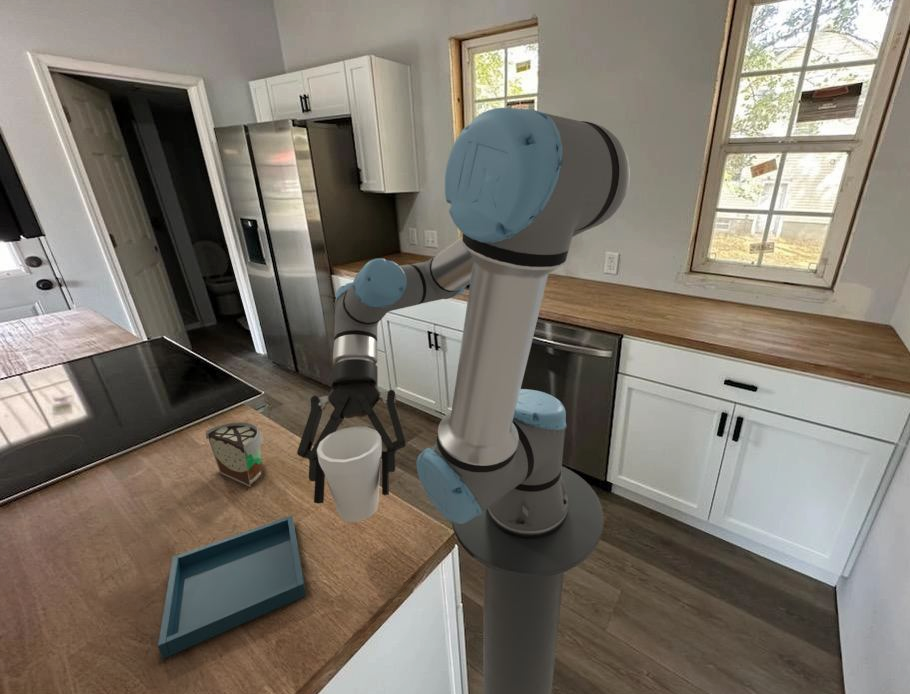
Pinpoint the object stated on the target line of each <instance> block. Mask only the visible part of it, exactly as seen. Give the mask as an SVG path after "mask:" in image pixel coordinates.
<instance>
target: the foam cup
mask: <svg viewBox="0 0 910 694" xmlns="http://www.w3.org/2000/svg"><path fill="white" fill-rule="evenodd" d="M382 452H383V441H382V440H381V436H380V435H379V433H378V432H377V431H376V429H375V428H372V427H368V426H355V425H354V426H350V427H346V428H345V427H344V428H341V429H337V430H336V432H333V433H331V434H329V435H328V436H326V437H325V438H324V439H323V440H322V441H321V442H320V443H319V446H318V448H317V455H318V460H319V464H320V466H321V468H322V470H323V471H324V474H325V480H326V483H327V485H328V488H329V491H330V494H331V498H332V500H333V502H334V506H335V509H336V510H337V513H338V515H339V517H340V519H341V520H343V521H344V522H347V523H358V522H363V521H365V520H367V519H369V518H370V517H372V516H373V515H374V514H375V513H376V512H377V511H378V509H379V499H380V480H381V479H380V476H381V461H382Z"/></svg>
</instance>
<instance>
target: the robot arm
mask: <svg viewBox="0 0 910 694" xmlns="http://www.w3.org/2000/svg"><path fill="white" fill-rule="evenodd" d="M448 156H449V157H448V160H447V162H446V168H445V174H444V196H445V201H446V203H447V204H449V205H450V207H449V210H448V212H449V215H450V218H451V219H452V222H453V224H454V225H455V226H456V228H457V229H458V230H459V231H460V232H461V233H462V236H461V237H459V238H458V239H457V240H455V241H454V242H453V243H451V244H449V245H448V246H447V247H445V248H444V249H443V250H441V251H440V252H439V253H437V254H436V255H435V256H433V257H431V258H430V259H428V260H426V261H423V262H417V263H409V264H403V265H399V264H397V263H396V262H395V261H393V260H388V259H385V258H383V257H382V258H374V259H371V260H369V261H367V262H366V264H364V266H363V267H362V268H361V269H360V270H359V272H357V274H355V276H354V279H353V282H347V283H346V284H345V285H340V286H339V288H338V289H337V291H336V293H335V294H336V295H335V301H334V305H333V306H334V329H333V330H334V331H333V335H334V336H333V349H332V350H333V351H332V363H333V366H332V371H331V372H332V373H331V389H330V391H329V393H328V395H324V396H317V395H312V396H311V397H310V412H309V415H308V417H307V421H306V424H305V426H304V429H303V433H302V437H301V439H300V441H299V445H298V447H297V451H296V455H298V456H299V457H301V458H302V459H307V460H308V462H309V465H308V480H309V481H310V482H314V493H313V494H314V495H313V496H314V497H313V504H318V505H319V504H324V503H325V502H324V501H325V498H324V497H325V483H326V481H325V480H326V477H325V474H324V471H323V470H322V468H321V466H320V464H319V460H318V455H317V448H318V446H319V443H320V442H321V441H322V440H323V439H324V438H325V437H326V436H328V435H329V434H331V433H333V432H336V431H338V429H339V427H340V425H341V424H342V423H343V422H344V420H345V419H352V418H354V417H357V418H365V417H366V416H367V417H368V418H369V420H370V422H371V424H372V426H373V428H374V430H376V431H377V432H378V433H379V435H380V436H381V441H382V444H384V446H385V448H386V451H382V453H381V494H382V495H383V496H388V495H390V473H395V471H396V452H397V451H398V450H400V449H403V448H406V446H407V443H406V439H405V435H404V432H403V428H402V424H401V422H400V421H401V420H400V418H399V414H398V409H397V408H396V405H397V404H396V403H397V402H396V401H397V394H396V391H395V390H393V389H389V390H388V391H380V390H379V387H378V386H379V385H378V380H379V379H378V374H379V373H378V365H377V363H378V325H379V322H381V320H382V319H384V317H385V316H386V314H388V313H389V312H393V311H397V310H402V309H405V308H410V307H415V306H418V305H422V304H427V303H431V302H435V301H440V300H448V299H452V298H454V297H456V296H459V295H461V294H462V293H464V292H465V289H466V288H467V286H469V289H468V295H467V302H466V310H465V316H464V323H463V329H462V337H461V342H460V343H461V344H460V350H459V358H458V364H457V371H456V378H455V385H454V391H453V397H452V398H453V399H452V405H451V410H450V411H449V412H447V413H446V414H445V415H444V416H443V417H442V419H441V420H440V422H439V424H438V427H437V433H436V434H437V435H436V440H435V441H436V442H435V444H434V445H433V446H431V447H427V448H425V449H424V451H422V452H420V454H419V455H417V458H416V472H417V475H418V479H419V481H420V484H421V486H422V488H423V490H424V493H425V494H426V496H427V498H428V499H429V501H430V502H431V503H432V505H433V506H434V508H436V510H437V511H438V512H439V513H440V514H441V515H442V516H443V517H444V518H446V519H447V520H448V521H451V523H452V522H455V523H459V524H463V523H466V522H468V521H470V520H471V519H473V518H474V517H476V516H479V515H481V514H482V512H483V511H485V510H486V509H487V513H488V516H489V518H490V519H491V521H492V522H493V524H494V525H495V526H496V527H498V528H499V529H500V530H502V531H503V532H505V533H507V534H509V535H512V536H515V537H519V538H526V539H533V538H541V537H544V536H547V535H550V534H552V533H554V532H555V531H557V530H558V529H559V528H560V527H561V526H562V525H563V523H564V522H565V520H566V517H567V513H568V498H567V494H566V490H565V487H564V484H563V480H562V477H561V468H562V466H563V456H564V445H565V437H566V436H565V435H566V429H567V422H566V421H567V420H566V419H567V418H566V417H567V411H566V408H565V406H564V404H563V403H562V402H561V400H559V399H558V398H556V397H555V396H553V395H552V394H549V393H547V392H544V391H540V390H535V389H529V388H528V389H527V388H522V384H523V380H524V378H525V377H524V376H525V372H526V369H527V368H526V367H527V364H528V361H529V356H530V352H531V348H532V344H533V340H534V335H535V331H536V326H537V323H538V319H539V314H540V312H541V311H540V310H541V306H542V302H543V298H544V295H545V290H546V286H547V282H548V278H549V275H550V274H551V273H552V272H554V271H556V270H558V269H559V268H561V267H563V266H564V265H565V264H566V262H567V258H568V255H569V251H570V248H571V243H572V239H573V237H576V236H578V235H579V234H582V233H584V232H586V231H588V230H590V229H592V228H595V227H598V226H600V225H601V224H603V223H605V222H606V221H608V220H609V219H610V218H612V216H613V215H615V213H616V212H617V211H618V210H619V208H620V207H621V206H622V204H623V202H624V200H625V199H626V196H627V193H628V190H629V187H630V180H631V179H630V178H631V169H630V163H629V157H628V154H627V152H626V149H625V147H624V145H623V144H622V143H621V141H620V140H619V138H618V136H616V135H615V134H613V133H612V132H611V130H609V129H607V128H606V127H604V126H602V125H599V124H597V123H594V122H590V121H586V120H585V121H584V120H577V119H573V118H567V117H564V116H559V115H554V114H551V113H546V112H542V111H539V110H536V109H534V108H530V109H528V108H516V107H514V108H513V107H495V108H492V109H488V110H486V111H483V112H481V113H480V114H479V115H476V117H474V118H473V119H472V120H471V123H470V124H468V125H466V126H465V127H463V129H462V130H461V132H460V133H459V135H458V136H457V138H456V139H455V141H454V143H453V146H452V147H451V150H450V152H449V155H448ZM380 399H381V400H382V402H383V404H384V405H386V406H387V409H388V414H389V417H390V421H391V424H392V428H393V432H394V435H395V438H396V440H394V441H392V439H391V438H390V436H389V434H388V433H387V431H386V429H385V427H384V426H383V424H382V423H381V421H380V419H379V417H378V416H377V414H376V412H375V411H374V409H373V408H374V407H375V406H376V405H377V403H378V401H380ZM329 403H330V405H331V406H332V407H333V408H334V409H333V410H332V412H331V414H330V418H329V420H328V421H327V423H326V425H324V426H325V427H324V428H323V429H322V432H321V433H320V434H319V436H318V438H317V440H316V442H315V444H314V441H315V438H316V435H317V432H318V429H319V425H320V422H321V419H322V415H323V410H325V409H326V408H327V405H328V404H329ZM313 444H314V445H313Z"/></svg>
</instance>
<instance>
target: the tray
mask: <svg viewBox="0 0 910 694" xmlns="http://www.w3.org/2000/svg"><path fill="white" fill-rule="evenodd" d="M297 537H298V536H297V532H296V527H295V521H294V516H293V514H291V515H289V516H285V517H282V518H279V519H276V520H274V521H271V522H268V523H266V524H262V525H260V526H257V527H254V528H251V529H248V530H246V531H245V530H244V531H243V532H240V533H237V534H233V535H231V536H228V537H226V538H223V539H220V540H217V541H214V542H211V543H208V544H205V545H201V546H199V547H197V548H194V549H191V550H188V551H185V552H182V553H179V554H177V555H174V556H172V557H171V562H170V568H169V575H168V579H167V580H168V581H167V587H166V591H165V592H166V593H165V598H164V605H163V611H162V617H161V623H160V629H159V635H158V640H157V641H158V642H157V648H158V651H159V653H160V655H161V659H162V660H164V659H167V658H168V657H172V656H174V655H176V654H178V653H180V652H182V651H185V650H187V649H189V648H192V647H193V646H195V645H198V644H201V643H203V642H205V641H207V640H209V639H211V638H214V637H216V636H218V635H221V634H224V633H226V632H227V631H229V630H232V629H234V628H236V627H238V626H242V625H243V624H245V623H248V622H250V621H253V620H254V619H256V618H259V617H261V616H264V615H266V614H268V613H270V612H273V611H275V610H277V609H280V608H282V607H285V606H286V605H289V604H290V603H293V602H295V601H298V600H300V599H302V598H304V597H306V596H307V593H306V587H305V581H304V575H303V568H302V563H301V556H300V550H299V543H298V538H297Z"/></svg>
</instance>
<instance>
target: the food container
mask: <svg viewBox="0 0 910 694" xmlns="http://www.w3.org/2000/svg"><path fill="white" fill-rule="evenodd" d="M205 438H206V440H208V442H209V445H210V448H211V451H212V455H213V456H214V459H215V462H216V465H217V468H218V470H219V471H218V472H219V474H221V475H223V476H225V477H228V478H230V479H231V480H234V481H236V482H238V483H241V484H244V485H245V486H247V487H250V488H252V487H253V486H254V485H256V484H257V483H258V482H259V481H260V480H261V479H262V476H263V475H264V469H263V462H262V461H263V460H262V453H261V452H262V451H261V445H262V443H263V440H264V437H263V435H262V433H261V430H260V429H259V428H258V427H257V426H256V425H255V424H253V423H251V422H244V421H235V422H229V423H223V424H220V425H216V426H214V427H211V428H209V429H206V430H205Z"/></svg>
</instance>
